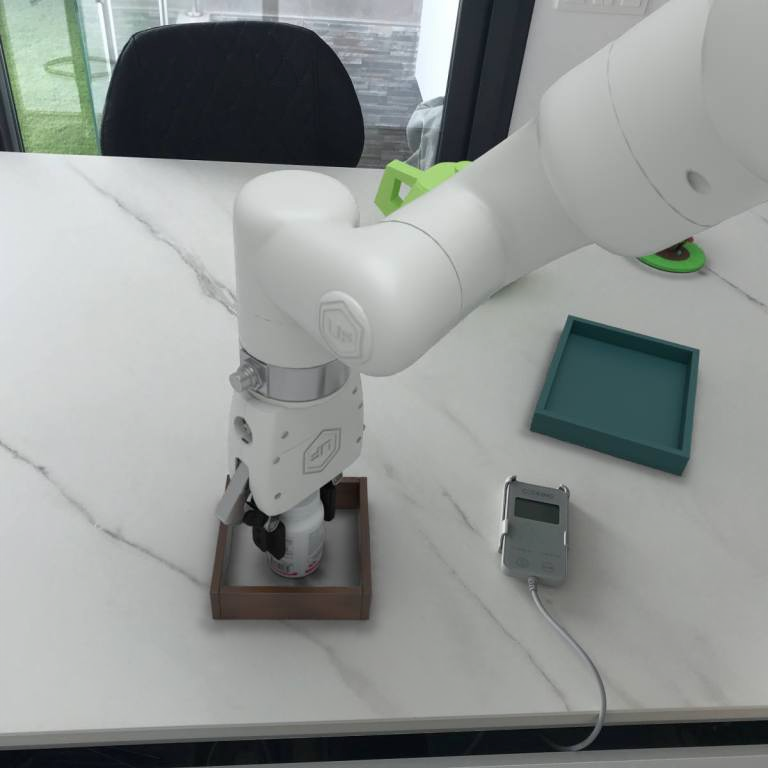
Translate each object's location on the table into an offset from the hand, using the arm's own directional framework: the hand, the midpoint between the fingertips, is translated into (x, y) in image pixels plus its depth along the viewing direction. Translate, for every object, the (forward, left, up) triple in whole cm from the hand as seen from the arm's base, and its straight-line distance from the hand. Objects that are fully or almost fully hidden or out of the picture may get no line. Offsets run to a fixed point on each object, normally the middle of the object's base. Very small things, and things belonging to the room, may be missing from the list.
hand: (294, 527), depth 64 cm
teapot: (+18, -48, -4) cm, 51 cm away
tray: (-11, -40, -4) cm, 42 cm away
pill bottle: (0, 0, -4) cm, 4 cm away
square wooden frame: (0, 0, -4) cm, 4 cm away
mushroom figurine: (-2, -76, -4) cm, 76 cm away
